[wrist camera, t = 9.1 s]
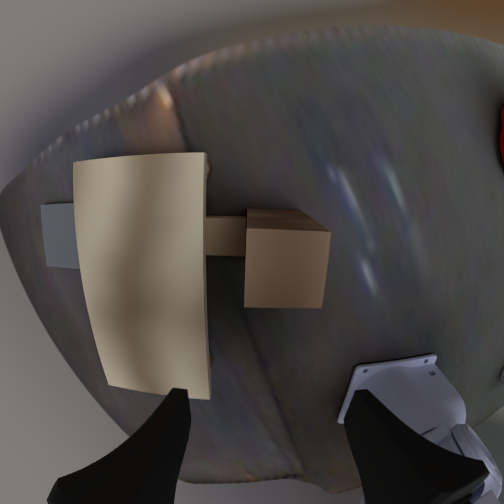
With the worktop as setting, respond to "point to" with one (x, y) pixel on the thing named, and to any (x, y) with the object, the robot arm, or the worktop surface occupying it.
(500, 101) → the worktop surface
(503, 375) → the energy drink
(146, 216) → the small wooden table
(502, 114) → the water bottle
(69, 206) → the coaster
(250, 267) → the wooden mallet
